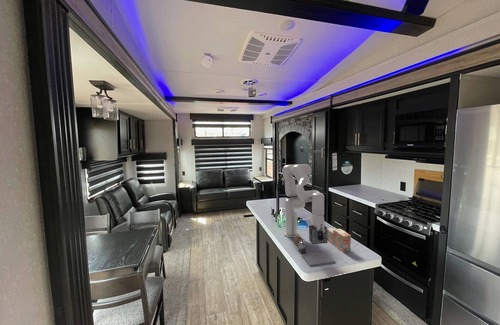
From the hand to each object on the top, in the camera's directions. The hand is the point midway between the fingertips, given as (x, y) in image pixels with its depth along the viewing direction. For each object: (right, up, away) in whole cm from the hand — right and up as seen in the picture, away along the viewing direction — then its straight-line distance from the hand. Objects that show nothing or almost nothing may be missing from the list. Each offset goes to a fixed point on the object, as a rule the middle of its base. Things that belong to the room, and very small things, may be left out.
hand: (318, 237), depth 145 cm
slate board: (0, -15, +1) cm, 15 cm away
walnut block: (-8, -13, +23) cm, 28 cm away
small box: (0, -3, 0) cm, 3 cm away
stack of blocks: (+21, -13, +20) cm, 32 cm away
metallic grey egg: (-8, -14, +12) cm, 20 cm away
